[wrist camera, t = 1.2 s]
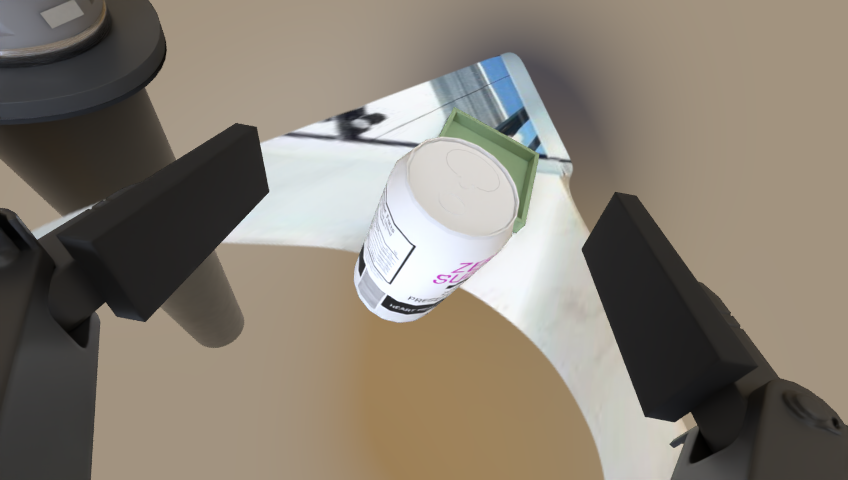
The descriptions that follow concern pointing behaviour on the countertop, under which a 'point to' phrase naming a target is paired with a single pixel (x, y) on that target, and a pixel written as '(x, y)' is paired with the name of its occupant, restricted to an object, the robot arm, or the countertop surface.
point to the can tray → (498, 155)
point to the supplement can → (434, 227)
